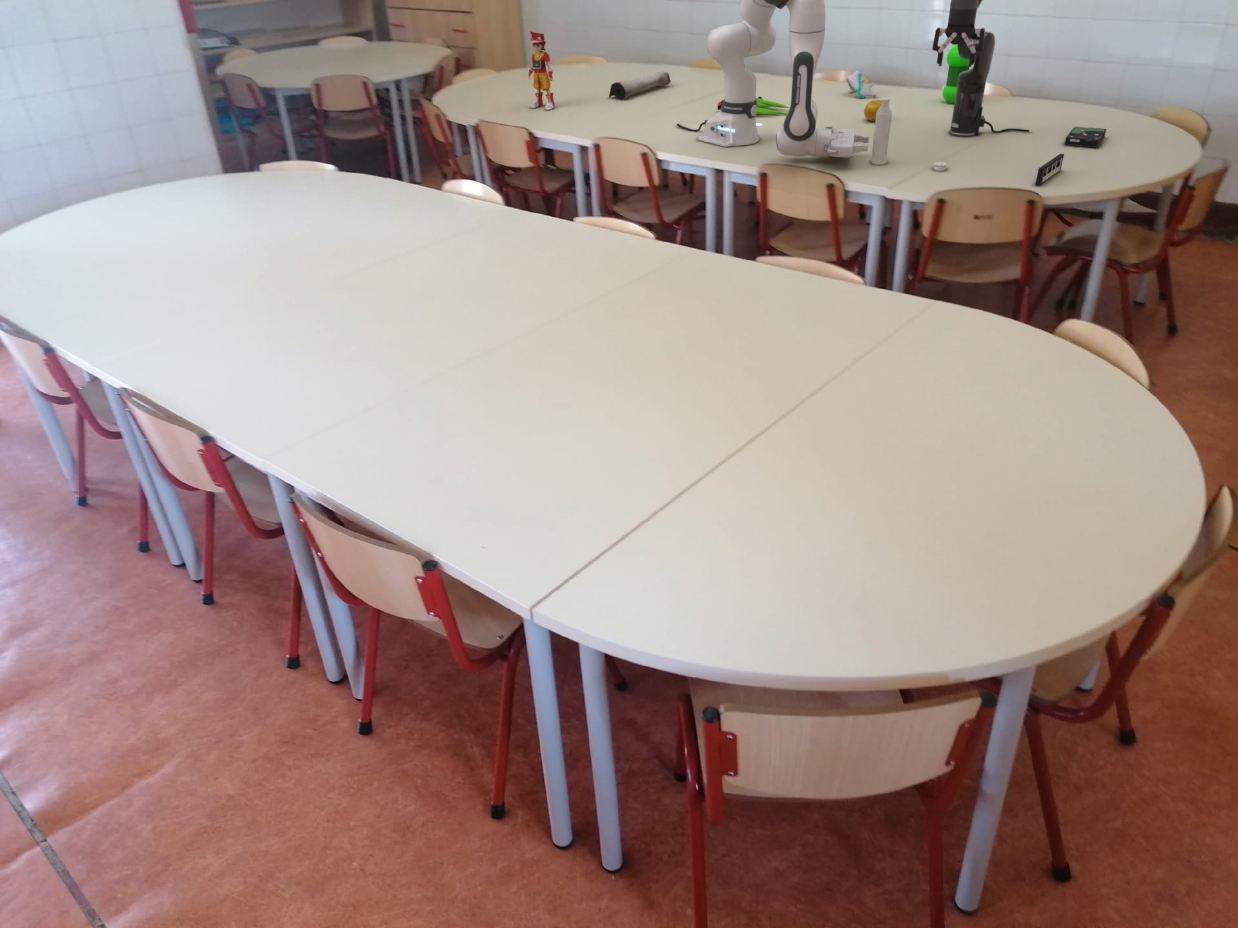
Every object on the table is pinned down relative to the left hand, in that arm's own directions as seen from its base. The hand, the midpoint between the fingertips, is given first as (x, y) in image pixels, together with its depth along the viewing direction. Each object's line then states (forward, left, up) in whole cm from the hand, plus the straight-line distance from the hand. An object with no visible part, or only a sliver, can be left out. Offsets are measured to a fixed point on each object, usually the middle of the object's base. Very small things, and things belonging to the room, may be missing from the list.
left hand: (868, 143), depth 294 cm
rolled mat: (-132, +45, -6) cm, 139 cm away
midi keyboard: (+55, +12, -6) cm, 56 cm away
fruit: (-21, +49, -6) cm, 54 cm away
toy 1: (-153, +4, -6) cm, 153 cm away
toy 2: (-67, +39, -6) cm, 78 cm away
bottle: (+4, +1, -6) cm, 7 cm away
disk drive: (+52, +56, -6) cm, 77 cm away
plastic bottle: (-7, +88, -6) cm, 88 cm away
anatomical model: (-45, +83, -6) cm, 94 cm away
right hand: (+23, +4, +25) cm, 34 cm away
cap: (+23, +4, -4) cm, 24 cm away
